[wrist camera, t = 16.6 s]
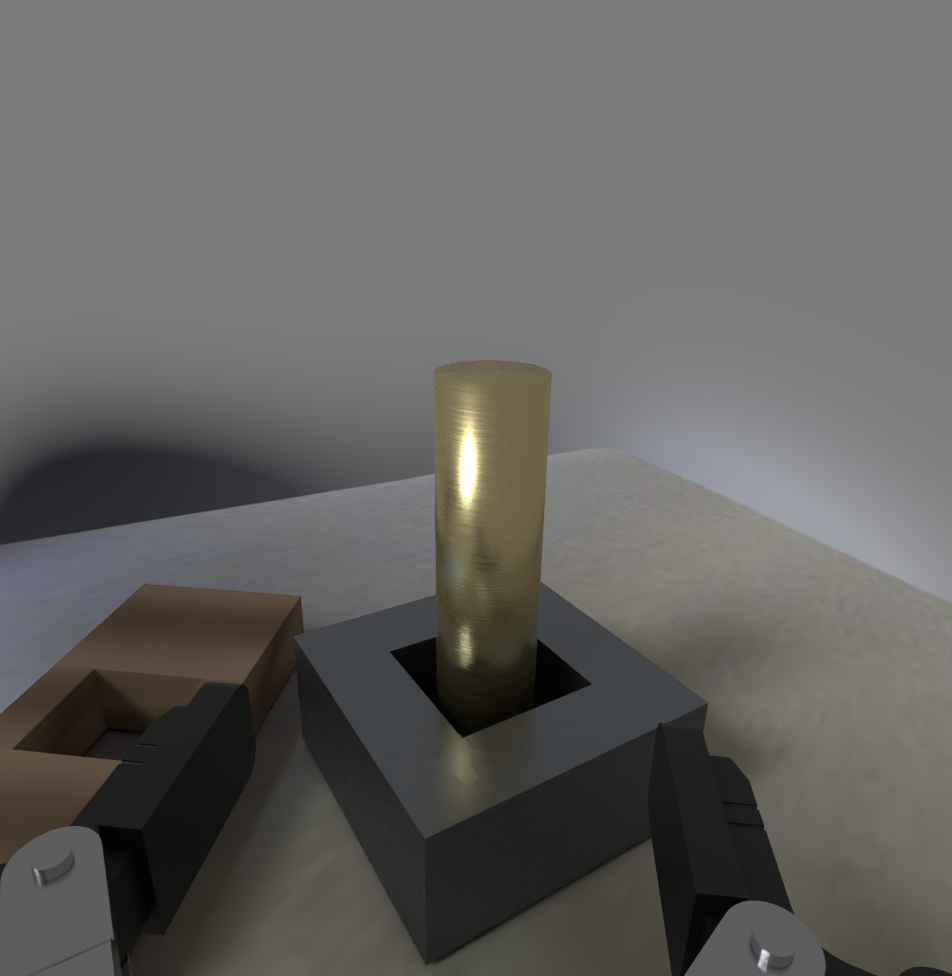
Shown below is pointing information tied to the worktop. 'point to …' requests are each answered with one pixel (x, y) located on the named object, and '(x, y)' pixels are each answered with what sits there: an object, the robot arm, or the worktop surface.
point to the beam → (133, 692)
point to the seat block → (483, 763)
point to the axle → (488, 537)
